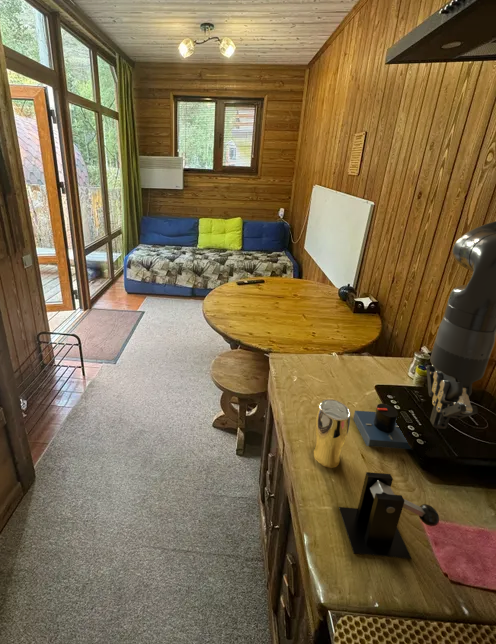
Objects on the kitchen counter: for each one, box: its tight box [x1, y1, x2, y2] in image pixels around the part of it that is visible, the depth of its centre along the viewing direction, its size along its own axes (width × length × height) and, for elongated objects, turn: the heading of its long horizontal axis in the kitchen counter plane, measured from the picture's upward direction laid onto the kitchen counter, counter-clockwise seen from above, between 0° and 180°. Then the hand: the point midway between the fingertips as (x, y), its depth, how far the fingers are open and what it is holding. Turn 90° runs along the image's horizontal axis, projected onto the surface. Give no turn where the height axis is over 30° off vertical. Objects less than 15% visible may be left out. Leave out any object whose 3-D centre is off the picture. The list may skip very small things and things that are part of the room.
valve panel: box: [353, 410, 412, 450], centre depth 81 cm, size 11×10×3 cm
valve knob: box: [373, 403, 399, 433], centre depth 80 cm, size 5×5×5 cm
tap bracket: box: [338, 471, 412, 560], centre depth 57 cm, size 10×8×13 cm
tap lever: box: [370, 481, 440, 527], centre depth 56 cm, size 13×3×3 cm, turn 84°
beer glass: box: [313, 398, 352, 468], centre depth 72 cm, size 7×7×15 cm
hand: (437, 425), depth 58 cm, fingers closed
